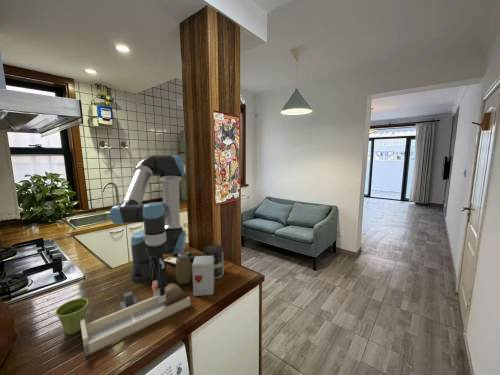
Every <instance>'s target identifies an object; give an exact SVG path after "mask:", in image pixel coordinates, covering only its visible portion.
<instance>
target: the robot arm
mask: <svg viewBox="0 0 500 375" xmlns="http://www.w3.org/2000/svg"><path fill="white" fill-rule="evenodd" d="M132 174H133V176H132V179H131V181H130V183H129V184H128V187H127V189H126V193H125V195H124V196H123V198H122V200H121V203H120V205H119V204H117V205H113V206H112V207H111V208H110V211H109V219H110V220H111V223H113V224H116V225H118V224H119V225H120V224H121V225H123V224H136V223H143V230H141V231H138V232H135V233H133V235H131V238H130V246H131V255H132V265H131V268H130V272H129V277H130V280H131V281H132V282H135V283H142V282H149V281H150V280H151V281H152V284H153V283H154V281H156V280H157V281H158V287H156V288H157V290H158V293H155V292H154V291H153V290H152V292H153V297H155V296H158V303H159V304H160V303H162V302H164V301H166V292H165V287H167V285H168V276H167V275H168V274H167V273H168V272H167V262H164V261H165V258H164V256H163V255H176V254H179V253H180V250H181V247H184V248H185V246H186V236H187V231H186V230H184V227H183V226H182V225H181V222H180V221H181V219H180V218H181V215H180V214H181V213H180V212H181V210H180V182H181V181H182V179H183V176H185V167H184V162H183V158H182V156H180V155H177V154H176V155H175V154H171V155H169V154H167V155H166V154H165V155H164V154H163V155H160V154H159V155H149V156H146V157H145V158H143V159H142V160H140V161H138V162H137V164H136V165H135V166H134V168H133V172H132ZM153 177H159V180H161V182H162V201H159V202H158V201H156V202H149V203H143V204H142V202H143V199H144V197H145V193H146V190H147V188H148V185H149V182H150V180H152V178H153Z"/></svg>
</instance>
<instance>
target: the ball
mask: <svg viewBox="0 0 500 375" xmlns="http://www.w3.org/2000/svg"><path fill="white" fill-rule="evenodd" d="M156 287H158V281H157V280H156V281H154V283H153V282H152V285H151V289H152V292H153V291H154V292H155V293H158V290H157V288H156Z"/></svg>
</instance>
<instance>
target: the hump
mask: <svg viewBox="0 0 500 375" xmlns="http://www.w3.org/2000/svg"><path fill="white" fill-rule="evenodd" d="M165 292H166V301H164V304H165V305H166V306H169V305H172V304H174V303H176V302H178V301H181V300H183V299H185V298H186V295H185V292H184V291H183V289H182V288H181V287H180V286H179V285H178V283H169V284H168V283H167V287H165Z"/></svg>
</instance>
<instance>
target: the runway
mask: <svg viewBox="0 0 500 375" xmlns="http://www.w3.org/2000/svg"><path fill="white" fill-rule="evenodd" d="M189 307H191V298H190V296H187V297H185V299H183V300H181V301H178V302H176V303H174V304H172V305H169V306H166V305H165V304H164V302H162V303H160V304H159V303H158V296H155V297H154V296H152V297H149V298H147V299H145V300H141V301H139V302H138V303H137V304H134V305H132V306H129V307H127V308H125V309H119V310H117V311H115V312H113V313H110V314H107V315H105V316H103V317H100V318H98V319H95V320H93V321H90V322H88V323H86V324H85V320H84V319H81V320H80V324H81V329H80V331H81V337H82V343H83V350H84V356H85V357H87V356H90V355H91V354H94V353H95V352H98V351H100V350H102V349H104V348H106V347H108V346H110V345H112V344H114V343H116V342H118V341H120V340H122V339H124V338H127V337H129V336H131V335H132V334H136V333H137V332H139V331H142V330H143V329H146V328H147V327H150V326H151V325H153V324H155V323H158V322H160V321H161V320H164V319H166V318H168V317H170V316H172V315H174V314H177V313H178V312H180V311H183V310H184V309H186V308H189Z"/></svg>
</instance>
